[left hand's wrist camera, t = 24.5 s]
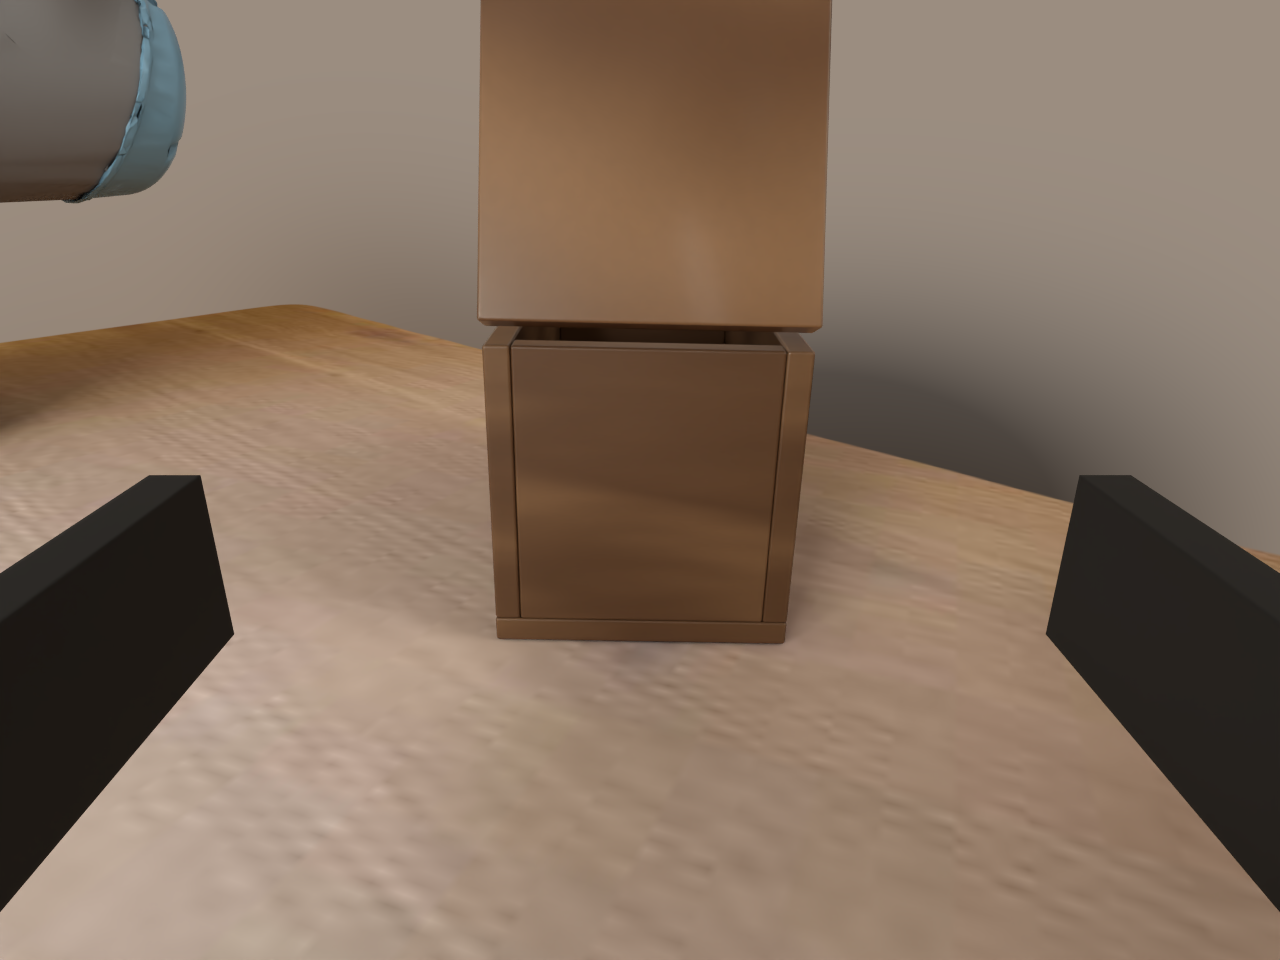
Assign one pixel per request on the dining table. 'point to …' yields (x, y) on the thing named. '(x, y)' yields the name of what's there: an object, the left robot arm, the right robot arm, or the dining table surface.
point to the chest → (644, 481)
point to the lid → (653, 164)
